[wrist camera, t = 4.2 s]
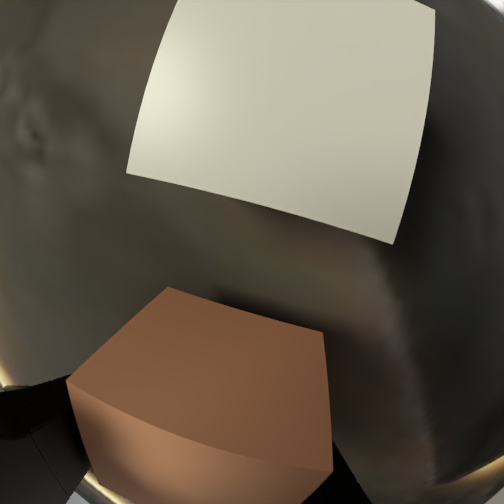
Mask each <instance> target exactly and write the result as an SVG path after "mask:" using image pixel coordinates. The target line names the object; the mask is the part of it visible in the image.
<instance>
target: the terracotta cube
mask: <svg viewBox="0 0 504 504" xmlns="http://www.w3.org/2000/svg"><path fill="white" fill-rule="evenodd" d="M66 383H67V388H68V392H69V396H70V400H71V404H72V408H73V411H74V415H75V418H76V422H77V425H78V428H79V432H80V435H81V438H82V441H83V444H84V447H85V450H86V452H87V455H88V458H89V460H90V463H91V466H92V468H93V471H94V473H95V476H96V478H97V480H98V483H99V484H100V485H102V486H103V487H105V488H107V489H109V490H111V491H113V492H115V493H117V494H119V495H121V496H123V497H125V498H127V499H129V500H132V501H134V502H136V503H138V504H301V503H302V502H303V501H304V500H305V499H306V498H307V497H309V496H310V495H311V494H312V493H313V492H314V491H315V490H316V489H317V488H318V487H319V486H320V485H321V484H322V483H323V482H324V481H325V480H326V478H327V477H328V476H329V475H330V474H331V473H332V472H333V455H332V434H331V417H330V403H329V390H328V378H327V368H326V357H325V348H324V339H323V332H319V331H315V330H311V329H307V328H304V327H300V326H296V325H292V324H289V323H285V322H281V321H278V320H274V319H270V318H267V317H263V316H260V315H256V314H253V313H249V312H246V311H243V310H239V309H236V308H233V307H229V306H226V305H223V304H220V303H216V302H213V301H210V300H207V299H204V298H201V297H197V296H194V295H191V294H188V293H185V292H182V291H179V290H176V289H173V288H170V287H167V288H166V289H165V290H164V291H162V292H161V293H160V294H159V295H158V296H157V297H156V298H155V299H153V300H152V301H151V302H150V303H149V304H148V305H147V306H146V307H144V308H143V309H142V310H141V311H140V312H139V313H138V314H137V315H136V316H134V317H133V318H132V319H131V320H130V321H129V322H128V323H127V324H126V325H125V326H123V327H122V328H121V329H120V330H119V331H118V332H117V333H116V334H115V335H114V336H112V337H111V338H110V339H109V340H108V341H107V342H106V343H105V344H104V345H103V346H102V347H101V348H100V349H98V350H97V351H96V352H95V353H94V354H93V355H92V356H91V357H90V358H89V359H88V360H87V361H86V362H85V363H83V364H82V365H81V366H80V367H79V368H78V369H77V370H76V371H75V372H74V373H73V374H72V375H71V376H70V377H69V378H68V379H67V380H66Z"/></svg>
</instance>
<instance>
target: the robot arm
mask: <svg viewBox="0 0 504 504" xmlns="http://www.w3.org/2000/svg"><path fill="white" fill-rule="evenodd" d="M72 374H73V373H72ZM72 374H69V375H66V376H63V377H60V378H57V379H54V380H52V381H48V382H44V383H41V384H38V385H34V386H30V387H28V386H5V387H4V388H3V389H4V391H5V392H0V504H66V503H67V501H68V500H69V498H70V496H71V495H72V494H73V492H74V491H75V489H76V488H77V486H78V485H79V483H80V482H81V480H82V479H83V477H84V476H85V475H86V473H87V472H88V470H89V469H90V467H91V463H90V460H89V458H88V455H87V452H86V450H85V447H84V444H83V441H82V438H81V435H80V432H79V428H78V425H77V422H76V418H75V415H74V411H73V408H72V404H71V400H70V396H69V392H68V388H67V383H66V380H67V379H68V378H69V377H70V376H71V375H72ZM332 455H333V472H332V473H331V474H330V475H329V476H328V477H327V478H326V480H325V481H324V482H323V483H322V484H321V485H320V486H319V487H318V488H317V489H316V490H315V491H314V492H313V493H312V494H311V495H310V496H309V497H307V498H306V499H305V500H304V501H303V502H302V503H301V504H372V503H371V501H370V500H369V498H368V497H367V495H366V494H365V492H364V491H363V489H362V488H361V486H360V484H359V483H358V482H357V480H356V478H355V476H354V475H353V473H352V471H351V470H350V468H349V466H348V465H347V463H346V461H345V460H344V458H343V456H342V455H341V453H340V451H339V450H338V448H337V446H336V445H335V443H334V441H333V439H332Z"/></svg>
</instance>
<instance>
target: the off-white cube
mask: <svg viewBox="0 0 504 504" xmlns="http://www.w3.org/2000/svg"><path fill="white" fill-rule="evenodd" d="M434 33H435V10H433V9H431V8H429V7H427V6H425V5H423V4H421V3H418V2H416V1H414V0H178V2H177V4H176V6H175V9H174V11H173V13H172V16H171V18H170V21H169V23H168V26H167V28H166V31H165V33H164V36H163V39H162V41H161V44H160V47H159V50H158V52H157V55H156V58H155V61H154V64H153V67H152V70H151V74H150V77H149V80H148V83H147V87H146V90H145V94H144V97H143V101H142V104H141V108H140V112H139V116H138V120H137V124H136V128H135V132H134V137H133V141H132V146H131V151H130V156H129V161H128V166H127V171H126V173H128V174H133V175H138V176H143V177H147V178H152V179H157V180H161V181H166V182H170V183H174V184H179V185H183V186H187V187H192V188H196V189H200V190H204V191H208V192H212V193H216V194H220V195H224V196H228V197H232V198H236V199H240V200H244V201H248V202H251V203H255V204H259V205H263V206H266V207H270V208H274V209H277V210H281V211H284V212H288V213H291V214H295V215H299V216H302V217H305V218H309V219H312V220H316V221H319V222H322V223H326V224H329V225H332V226H336V227H339V228H342V229H346V230H349V231H352V232H355V233H358V234H362V235H365V236H368V237H371V238H374V239H377V240H380V241H383V242H386V243H389V244H392V245H393V242H394V239H395V236H396V233H397V230H398V227H399V224H400V221H401V218H402V214H403V211H404V207H405V204H406V201H407V197H408V193H409V190H410V186H411V182H412V178H413V174H414V170H415V166H416V162H417V157H418V153H419V148H420V143H421V138H422V133H423V128H424V123H425V117H426V111H427V104H428V98H429V90H430V82H431V73H432V63H433V51H434Z"/></svg>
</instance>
